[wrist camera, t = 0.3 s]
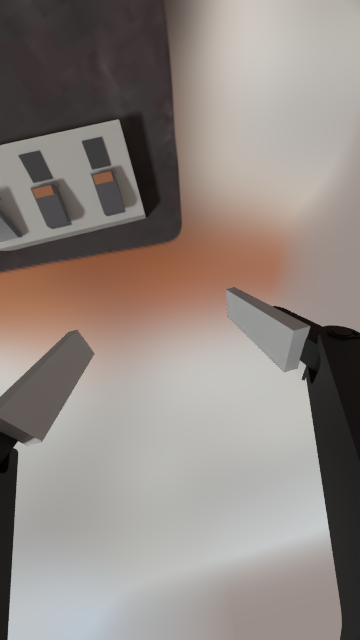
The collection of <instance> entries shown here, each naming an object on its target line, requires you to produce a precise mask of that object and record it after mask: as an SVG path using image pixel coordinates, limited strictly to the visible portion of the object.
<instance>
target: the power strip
mask: <svg viewBox="0 0 360 640" xmlns="http://www.w3.org/2000/svg"><path fill="white" fill-rule="evenodd" d="M107 170H113V172H114V174H115V177H116V180H117V184H118V187H119V190H120V194H121V197H122V200H123V204H124V207H125V210H126V212H124V213H120V214H115V215H111V216H106V215H105V214H104V212H103V209H102V206H101V203H100V200H99V197H98V194H97V191H96V188H95V185H94V182H93V179H92V176H91V174H94V173H98V172H103V171H107ZM50 183H53V184H54V185H55V186H56V187H57V188H58V190H59V192H60V195H61V197H62V200H63V202H64V205H65V207H66V210H67V212H68V215H69V217H70V220H71V222H72V225H69V226H65V227H61V228H56V229H51V228H49V227H47V225H46V223H45V221H44V218H43V216H42V214H41V212H40V209H39V207H38V205H37V202H36V200H35V198H34V196H33V193H32V191H31V189H30V188H33V187H37V186H42V185H46V184H50ZM0 210H1V211H2V212H3V214H4V215H5V216H6V217H7V218H8V219H9V221H10V222H11V223H12V224H13V225H14V226H15V228H16V229H17V230H18V231H19V232H20V234H21V235H22V236H23V237H20V238H16V239H11V240H7V241H3V242H0V250H16V249H20V248H24V247H29V246H33V245H37V244H41V243H45V242H49V241H54V240H58V239H62V238H66V237H70V236H74V235H79V234H83V233H87V232H91V231H95V230H99V229H104V228H108V227H112V226H116V225H120V224H124V223H129V222H133V221H137V220H141V219H145V218H146V215H145V212H144V208H143V204H142V201H141V197H140V193H139V190H138V186H137V182H136V179H135V175H134V171H133V167H132V164H131V160H130V156H129V153H128V149H127V145H126V142H125V138H124V135H123V131H122V128H121V125H120V121H119V119H118V120H113V121H109V122H104V123H99V124H95V125H90V126H86V127H81V128H77V129H72V130H67V131H63V132H58V133H54V134H49V135H44V136H40V137H35V138H31V139H26V140H22V141H17V142H12V143H8V144H3V145H0Z"/></svg>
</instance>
